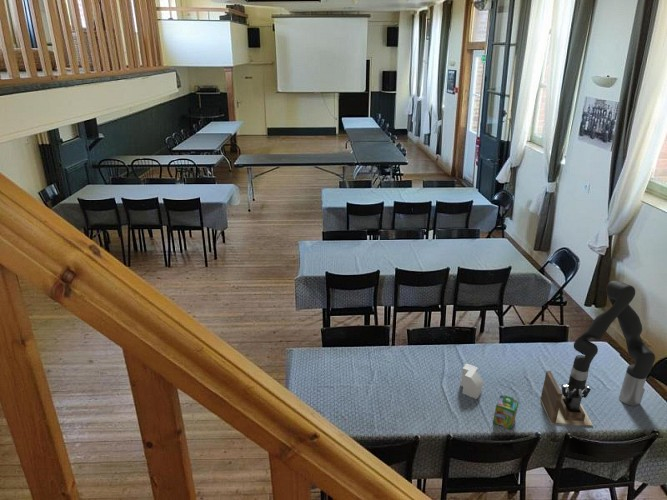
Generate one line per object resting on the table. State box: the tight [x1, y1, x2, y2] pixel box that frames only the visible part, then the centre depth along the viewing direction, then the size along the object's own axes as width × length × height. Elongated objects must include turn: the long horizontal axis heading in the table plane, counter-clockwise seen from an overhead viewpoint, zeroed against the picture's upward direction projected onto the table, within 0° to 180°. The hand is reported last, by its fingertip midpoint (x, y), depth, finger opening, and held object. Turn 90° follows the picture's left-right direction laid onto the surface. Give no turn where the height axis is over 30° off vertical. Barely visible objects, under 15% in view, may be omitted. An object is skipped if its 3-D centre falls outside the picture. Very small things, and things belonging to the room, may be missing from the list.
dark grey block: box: [564, 388, 583, 412], centre depth 247 cm, size 4×8×12 cm, turn 175°
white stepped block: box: [460, 363, 484, 400], centre depth 264 cm, size 11×11×12 cm
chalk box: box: [492, 395, 519, 430], centre depth 241 cm, size 9×9×15 cm
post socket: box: [540, 370, 594, 427], centre depth 246 cm, size 20×18×19 cm
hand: (572, 402), depth 247 cm, fingers open, 4 cm apart
